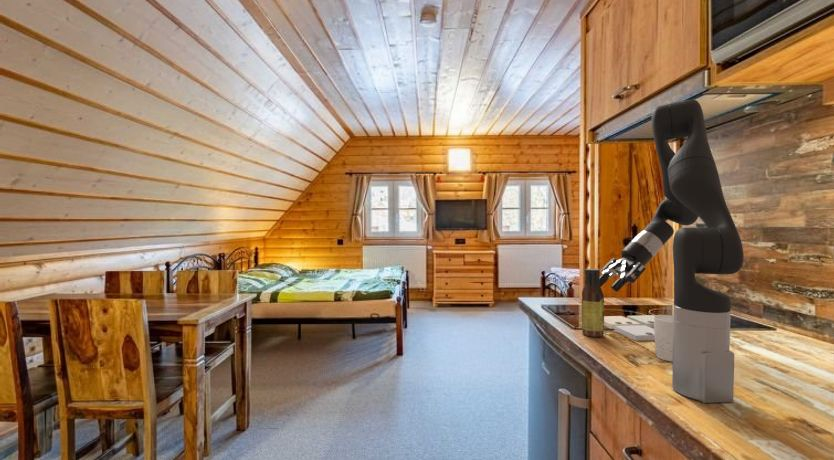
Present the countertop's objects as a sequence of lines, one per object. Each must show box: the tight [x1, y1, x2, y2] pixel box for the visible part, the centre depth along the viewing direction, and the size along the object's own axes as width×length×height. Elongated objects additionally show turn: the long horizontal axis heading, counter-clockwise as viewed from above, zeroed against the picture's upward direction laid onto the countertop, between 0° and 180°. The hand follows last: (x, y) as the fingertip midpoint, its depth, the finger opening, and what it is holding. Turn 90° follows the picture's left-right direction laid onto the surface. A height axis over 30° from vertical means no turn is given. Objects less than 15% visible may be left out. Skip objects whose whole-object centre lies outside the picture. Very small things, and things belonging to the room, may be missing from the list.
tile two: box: [604, 315, 641, 330], centre depth 130 cm, size 10×10×2 cm
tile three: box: [626, 314, 656, 329], centre depth 131 cm, size 10×10×2 cm
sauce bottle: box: [581, 268, 605, 338], centre depth 118 cm, size 7×6×20 cm
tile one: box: [614, 325, 655, 342], centre depth 118 cm, size 10×10×2 cm
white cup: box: [653, 314, 674, 363], centre depth 98 cm, size 8×8×10 cm
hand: (605, 287), depth 119 cm, fingers open, 8 cm apart
